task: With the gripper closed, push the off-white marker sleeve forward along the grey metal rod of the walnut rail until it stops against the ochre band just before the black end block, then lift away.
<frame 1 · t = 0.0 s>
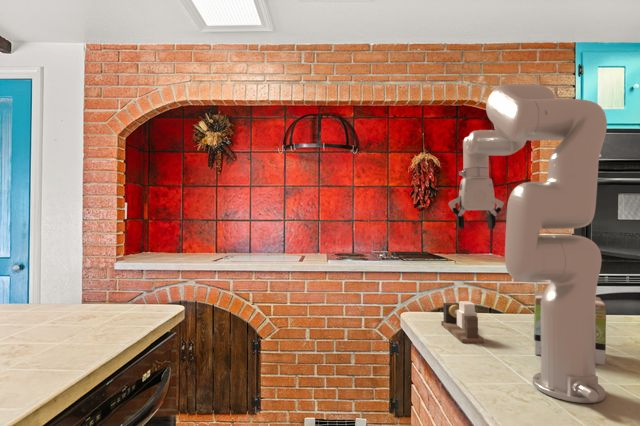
hand: (476, 228, 126), 31 cm above the countertop, fingers open, 9 cm apart
sleeve: (466, 314, 115), point 7 cm above the countertop, slide at 0.0 cm
tea box: (567, 355, 102), on the countertop
rail: (460, 333, 120), on the countertop
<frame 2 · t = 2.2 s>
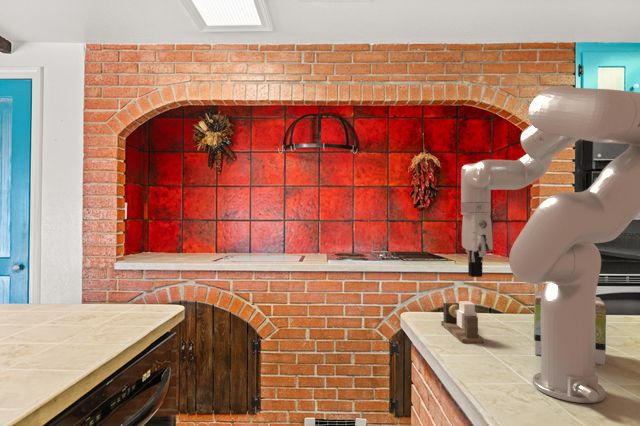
hand: (475, 276, 109), 19 cm above the countertop, fingers closed
nothing on the countertop moved.
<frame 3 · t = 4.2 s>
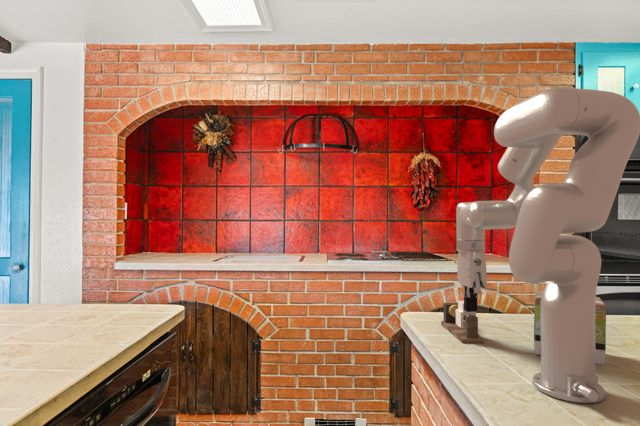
hand: (470, 310, 112), 9 cm above the countertop, fingers closed
sleeve: (465, 313, 116), point 7 cm above the countertop, slide at 0.9 cm, touching gripper
everything else where it was.
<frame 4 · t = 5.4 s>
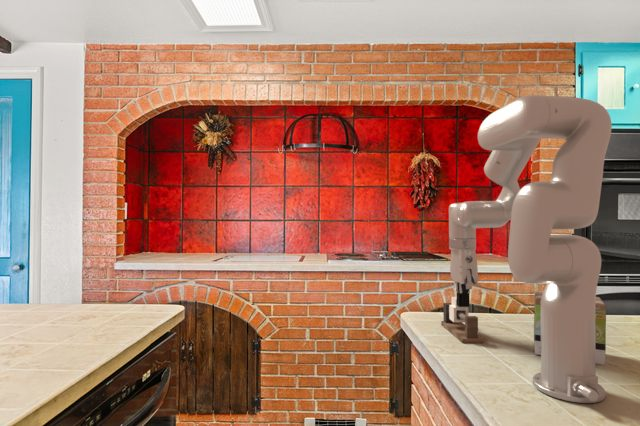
hand: (463, 306, 118), 9 cm above the countertop, fingers closed
sleeve: (458, 309, 121), point 7 cm above the countertop, slide at 6.5 cm, touching gripper, rail
everything else where it was.
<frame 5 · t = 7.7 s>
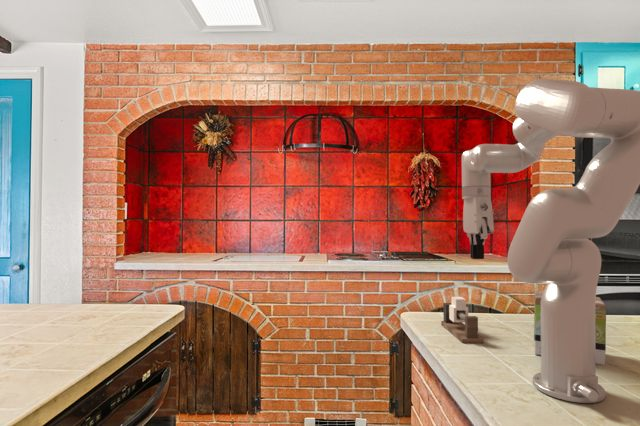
hand: (477, 258, 112), 23 cm above the countertop, fingers closed
sleeve: (458, 309, 121), point 7 cm above the countertop, slide at 6.5 cm, touching rail
everything else where it was.
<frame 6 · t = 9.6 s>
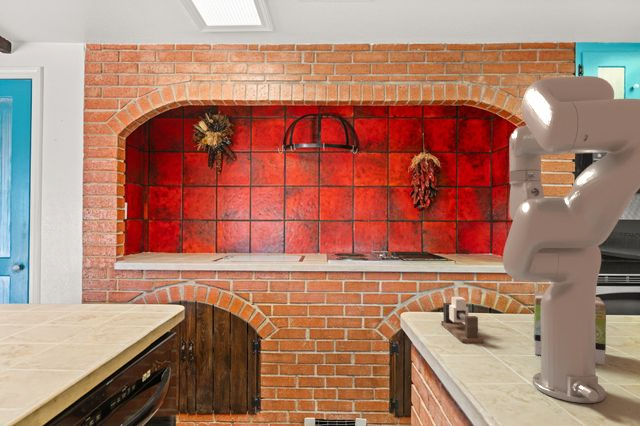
hand: (525, 246, 106), 27 cm above the countertop, fingers closed
nothing on the countertop moved.
at the end: sleeve slide at 6.5 cm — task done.
